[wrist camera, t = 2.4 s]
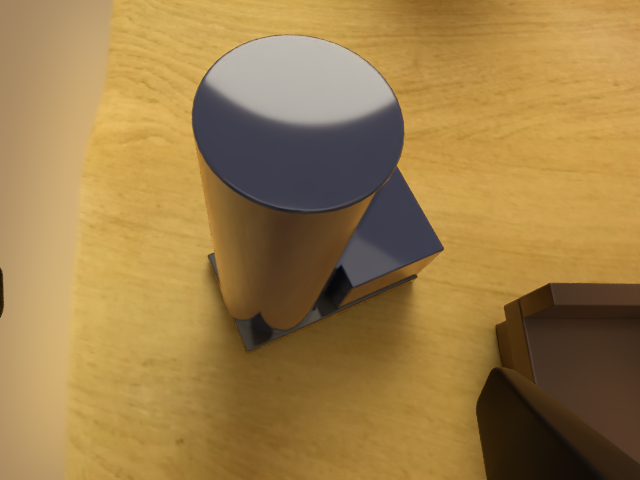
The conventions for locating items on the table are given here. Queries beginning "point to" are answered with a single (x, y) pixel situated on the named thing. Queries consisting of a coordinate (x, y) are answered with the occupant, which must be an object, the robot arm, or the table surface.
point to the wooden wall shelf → (581, 353)
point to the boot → (304, 185)
